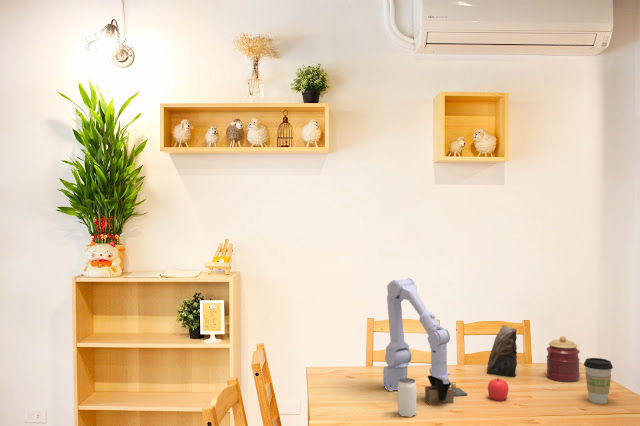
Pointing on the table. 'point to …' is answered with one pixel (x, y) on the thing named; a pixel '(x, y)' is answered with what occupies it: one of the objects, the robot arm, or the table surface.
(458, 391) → the panel
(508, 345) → the rock
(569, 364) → the canister
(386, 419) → the table surface
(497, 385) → the apple
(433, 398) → the walnut link
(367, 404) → the table surface
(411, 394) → the can
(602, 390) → the coffee cup
